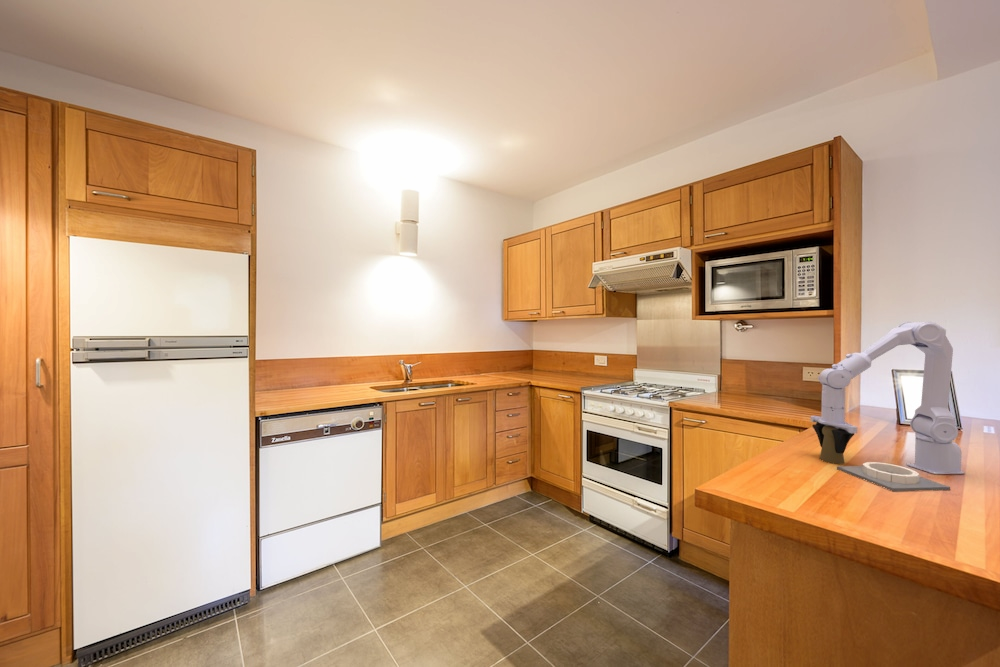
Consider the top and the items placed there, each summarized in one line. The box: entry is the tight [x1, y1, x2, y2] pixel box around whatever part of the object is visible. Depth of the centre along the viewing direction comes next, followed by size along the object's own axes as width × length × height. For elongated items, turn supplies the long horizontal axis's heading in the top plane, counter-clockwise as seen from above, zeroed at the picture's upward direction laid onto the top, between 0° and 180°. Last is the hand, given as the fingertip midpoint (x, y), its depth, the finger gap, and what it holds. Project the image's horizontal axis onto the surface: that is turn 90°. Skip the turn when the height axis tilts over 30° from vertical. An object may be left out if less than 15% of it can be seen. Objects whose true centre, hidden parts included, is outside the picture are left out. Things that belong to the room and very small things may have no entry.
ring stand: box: [836, 461, 951, 492], centre depth 112 cm, size 16×16×3 cm
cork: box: [819, 425, 845, 465], centre depth 127 cm, size 6×6×11 cm
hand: (832, 450), depth 127 cm, fingers closed on cork, 5 cm apart
